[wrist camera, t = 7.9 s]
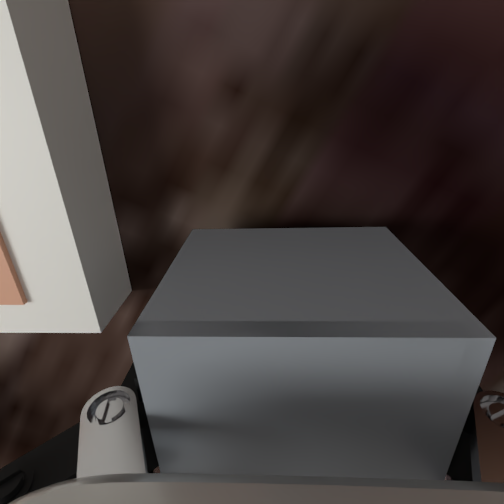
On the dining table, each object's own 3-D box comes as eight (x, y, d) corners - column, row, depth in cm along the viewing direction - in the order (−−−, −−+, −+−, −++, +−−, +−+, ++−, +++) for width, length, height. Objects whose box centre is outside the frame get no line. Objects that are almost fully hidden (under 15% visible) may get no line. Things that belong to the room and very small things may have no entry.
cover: (385, 226, 11) (496, 338, 6) (363, 373, 14) (422, 538, 9) (192, 229, 12) (127, 336, 6) (208, 371, 15) (174, 529, 9)
